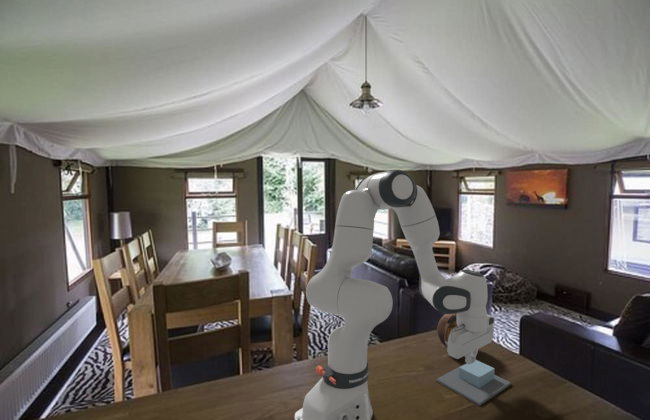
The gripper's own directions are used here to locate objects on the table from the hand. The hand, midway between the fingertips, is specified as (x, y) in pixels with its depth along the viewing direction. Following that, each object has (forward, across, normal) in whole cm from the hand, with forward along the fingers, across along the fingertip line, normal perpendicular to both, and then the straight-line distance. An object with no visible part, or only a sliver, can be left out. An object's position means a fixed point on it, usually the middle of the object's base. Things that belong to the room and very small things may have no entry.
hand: (470, 362), depth 107 cm
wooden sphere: (+8, +17, +16) cm, 24 cm away
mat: (+8, +2, 0) cm, 8 cm away
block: (+5, 0, 0) cm, 5 cm away
